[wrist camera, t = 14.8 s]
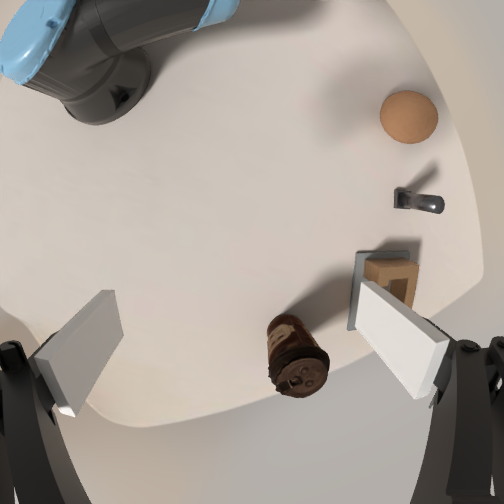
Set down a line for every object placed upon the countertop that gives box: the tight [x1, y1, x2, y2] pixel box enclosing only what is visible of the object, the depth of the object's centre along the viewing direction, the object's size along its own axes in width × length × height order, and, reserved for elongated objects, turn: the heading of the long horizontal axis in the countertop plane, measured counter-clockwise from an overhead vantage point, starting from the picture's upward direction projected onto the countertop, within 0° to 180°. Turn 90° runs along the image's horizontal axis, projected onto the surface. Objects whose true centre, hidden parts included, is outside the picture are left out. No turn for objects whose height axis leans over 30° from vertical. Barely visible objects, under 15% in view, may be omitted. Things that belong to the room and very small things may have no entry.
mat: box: [347, 251, 410, 331], centre depth 44 cm, size 14×11×1 cm
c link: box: [363, 257, 419, 309], centre depth 41 cm, size 12×8×5 cm, turn 1°
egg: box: [380, 91, 438, 144], centre depth 32 cm, size 8×8×11 cm
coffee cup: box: [267, 314, 330, 398], centre depth 38 cm, size 9×8×13 cm
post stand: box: [394, 190, 445, 214], centre depth 35 cm, size 3×3×10 cm
